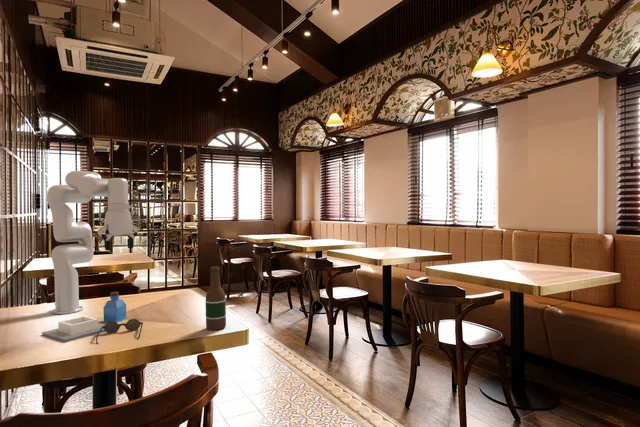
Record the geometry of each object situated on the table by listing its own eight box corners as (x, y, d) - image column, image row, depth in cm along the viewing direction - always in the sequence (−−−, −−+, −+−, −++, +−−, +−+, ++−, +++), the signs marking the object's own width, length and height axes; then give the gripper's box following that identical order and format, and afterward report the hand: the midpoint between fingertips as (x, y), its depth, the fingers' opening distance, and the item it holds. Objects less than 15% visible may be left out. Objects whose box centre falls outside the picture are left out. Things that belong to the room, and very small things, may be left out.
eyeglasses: (143, 329, 160) (142, 317, 160) (140, 340, 146) (140, 327, 146) (101, 334, 155) (101, 321, 155) (94, 346, 141) (94, 332, 141)
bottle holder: (42, 334, 155) (41, 323, 154) (90, 323, 170) (89, 312, 170) (65, 342, 145) (65, 329, 145) (114, 329, 160) (113, 318, 160)
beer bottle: (208, 332, 153) (206, 268, 153) (204, 327, 160) (202, 266, 160) (228, 329, 157) (227, 267, 157) (223, 324, 164) (222, 265, 164)
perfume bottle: (116, 322, 170) (115, 294, 170) (103, 322, 171) (103, 293, 171) (126, 318, 176) (125, 291, 176) (114, 318, 177) (113, 291, 177)
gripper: (132, 208, 177) (133, 247, 177) (92, 208, 162) (93, 251, 162) (142, 207, 173) (144, 247, 173) (102, 207, 158) (103, 251, 158)
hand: (119, 249), depth 167 cm, fingers open, 9 cm apart
